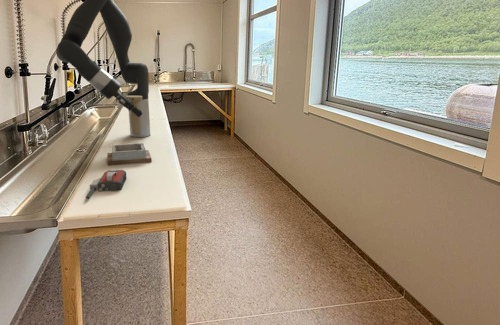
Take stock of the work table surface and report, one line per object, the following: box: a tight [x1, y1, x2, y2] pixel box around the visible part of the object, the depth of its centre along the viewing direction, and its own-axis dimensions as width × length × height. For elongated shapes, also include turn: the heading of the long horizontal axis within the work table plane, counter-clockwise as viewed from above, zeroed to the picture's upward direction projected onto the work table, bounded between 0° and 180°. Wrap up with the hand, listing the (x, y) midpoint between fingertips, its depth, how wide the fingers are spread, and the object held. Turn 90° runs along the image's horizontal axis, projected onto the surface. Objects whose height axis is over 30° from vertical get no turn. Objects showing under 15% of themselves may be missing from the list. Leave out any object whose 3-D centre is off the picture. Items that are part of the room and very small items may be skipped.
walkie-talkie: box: [85, 169, 127, 200], centre depth 110 cm, size 9×4×20 cm
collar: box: [111, 142, 147, 161], centre depth 139 cm, size 11×11×3 cm
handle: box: [126, 95, 142, 134], centre depth 150 cm, size 5×6×15 cm
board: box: [106, 149, 153, 166], centre depth 140 cm, size 12×15×2 cm
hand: (140, 114), depth 151 cm, fingers closed on handle, 3 cm apart
